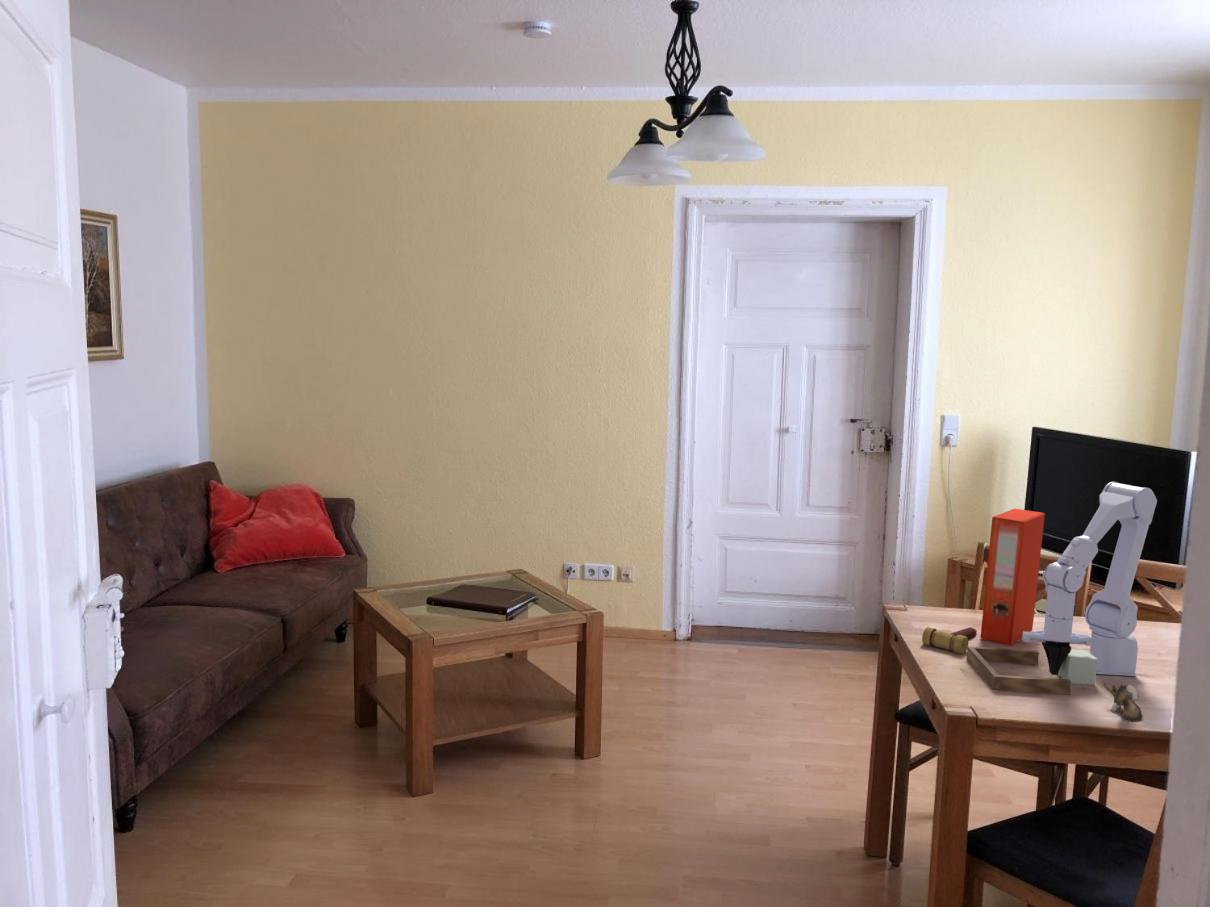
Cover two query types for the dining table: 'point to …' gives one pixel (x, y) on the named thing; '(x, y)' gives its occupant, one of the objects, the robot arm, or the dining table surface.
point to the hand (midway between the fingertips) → (1053, 673)
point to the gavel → (948, 639)
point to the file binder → (1012, 575)
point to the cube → (1079, 667)
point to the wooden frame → (1014, 683)
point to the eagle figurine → (1126, 702)
